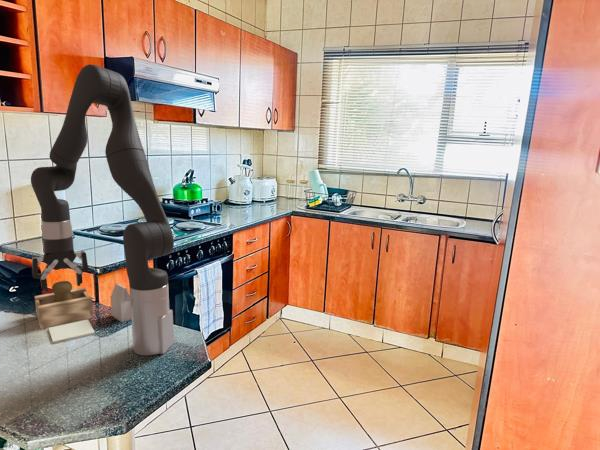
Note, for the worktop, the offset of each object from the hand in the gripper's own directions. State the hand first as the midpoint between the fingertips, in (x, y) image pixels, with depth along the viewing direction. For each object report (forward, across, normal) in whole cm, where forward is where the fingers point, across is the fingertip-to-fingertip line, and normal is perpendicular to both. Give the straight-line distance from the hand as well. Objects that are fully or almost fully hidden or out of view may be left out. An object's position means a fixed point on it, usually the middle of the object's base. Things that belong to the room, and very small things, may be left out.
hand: (62, 287), depth 122 cm
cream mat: (+9, 0, +13) cm, 16 cm away
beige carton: (+9, -14, +10) cm, 20 cm away
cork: (+9, 0, 0) cm, 9 cm away
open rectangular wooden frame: (+9, 0, 0) cm, 9 cm away
